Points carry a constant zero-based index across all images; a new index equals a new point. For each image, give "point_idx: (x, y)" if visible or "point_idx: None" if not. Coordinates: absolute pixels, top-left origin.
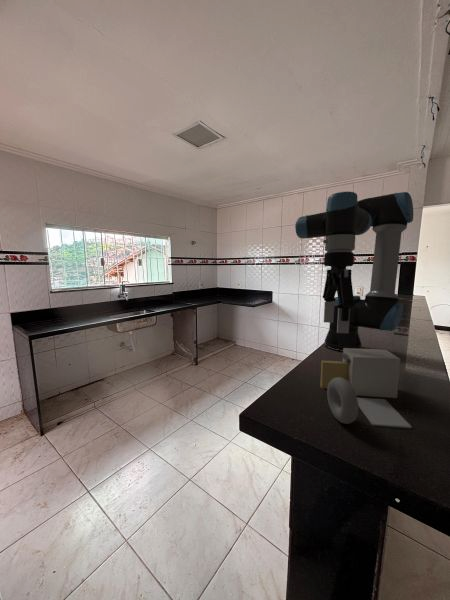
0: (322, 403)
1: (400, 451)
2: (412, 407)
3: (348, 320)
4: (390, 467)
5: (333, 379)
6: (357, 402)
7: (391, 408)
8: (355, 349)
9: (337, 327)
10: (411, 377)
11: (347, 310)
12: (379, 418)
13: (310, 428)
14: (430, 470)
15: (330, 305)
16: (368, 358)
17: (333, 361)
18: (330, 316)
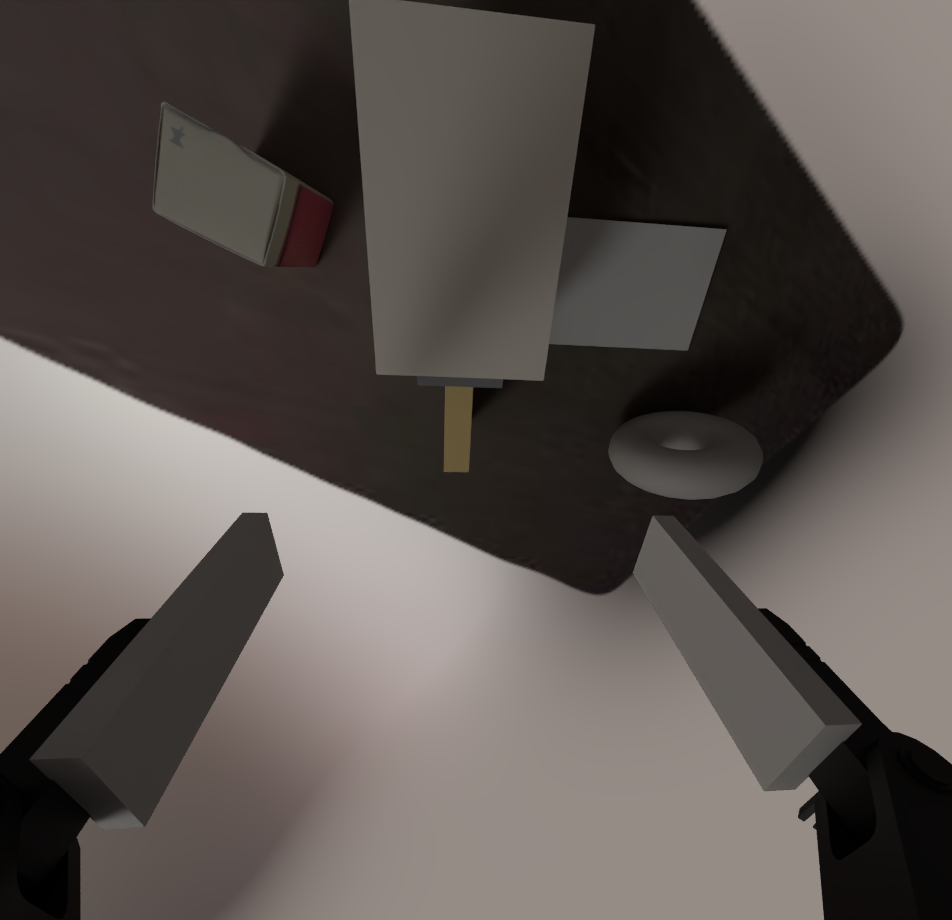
0: (562, 447)
1: (786, 331)
2: (607, 112)
3: (740, 598)
4: (814, 382)
5: (680, 497)
6: (753, 437)
7: (620, 232)
8: (395, 303)
9: (658, 601)
10: None
11: (866, 727)
12: (667, 315)
13: (665, 497)
14: (854, 298)
15: (157, 717)
16: (554, 289)
17: (451, 424)
18: (242, 579)
